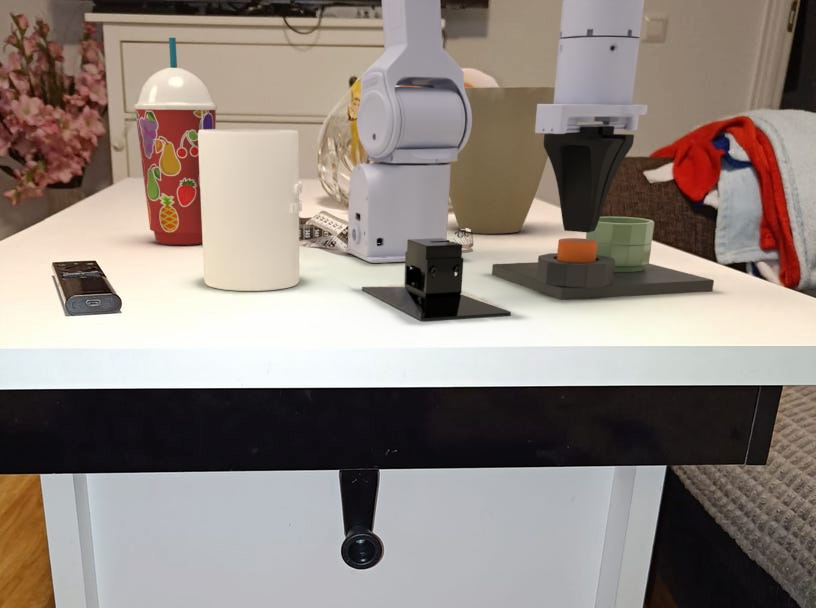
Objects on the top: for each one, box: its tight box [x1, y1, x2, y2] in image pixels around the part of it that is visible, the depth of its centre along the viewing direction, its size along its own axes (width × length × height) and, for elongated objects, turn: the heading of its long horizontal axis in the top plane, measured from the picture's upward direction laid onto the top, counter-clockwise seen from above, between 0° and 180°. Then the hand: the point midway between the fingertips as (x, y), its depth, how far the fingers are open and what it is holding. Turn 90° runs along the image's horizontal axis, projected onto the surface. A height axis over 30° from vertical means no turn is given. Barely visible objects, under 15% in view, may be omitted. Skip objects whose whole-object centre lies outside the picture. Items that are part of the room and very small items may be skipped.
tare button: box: [556, 237, 598, 262], centre depth 74 cm, size 3×3×2 cm
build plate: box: [361, 238, 512, 323], centre depth 70 cm, size 12×7×5 cm, turn 18°
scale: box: [491, 252, 715, 301], centre depth 78 cm, size 14×12×3 cm
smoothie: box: [133, 37, 218, 246], centre depth 97 cm, size 8×8×20 cm
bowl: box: [585, 216, 655, 272], centre depth 80 cm, size 5×5×4 cm
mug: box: [198, 128, 303, 292], centre depth 78 cm, size 8×12×12 cm
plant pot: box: [447, 86, 555, 235], centre depth 109 cm, size 15×15×16 cm
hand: (579, 230), depth 73 cm, fingers closed
